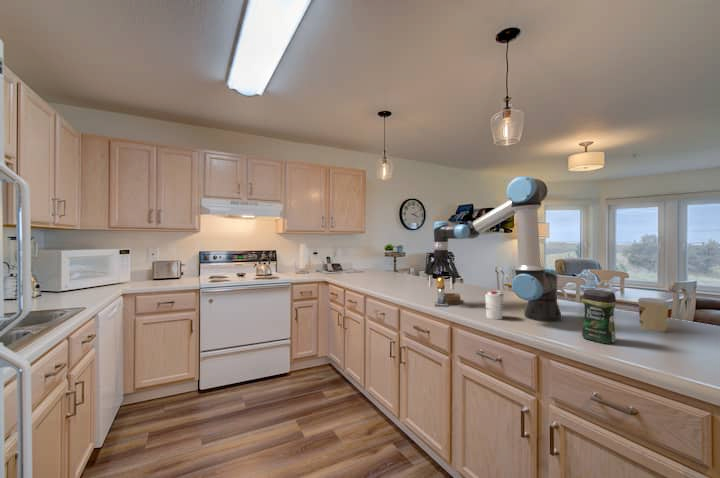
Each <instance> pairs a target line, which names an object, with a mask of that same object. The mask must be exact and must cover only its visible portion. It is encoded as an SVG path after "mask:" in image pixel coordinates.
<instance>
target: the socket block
mask: <svg viewBox="0 0 720 478" xmlns="http://www.w3.org/2000/svg"><path fill="white" fill-rule="evenodd" d="M444 298H445V302H448V305H449V304H450V305H461V295H460V292H459V293H458V292H457V293H456V292H455V293H454V292H444Z"/></svg>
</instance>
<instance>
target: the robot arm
mask: <svg viewBox="0 0 720 478" xmlns="http://www.w3.org/2000/svg"><path fill="white" fill-rule="evenodd" d="M548 191H549V190H548V186H547V184H546V183H545V182H544V181H543V180H541V179H538V178H535V177H532V176H527V175H526V176H522V175H521V176H517V177H515V178H513V179H512V180H511V181H510V182H509V184H508V185H507V188H506V196H507V198H508V200H507V201H505V202H503V203H501V204H500V205H498V206H497V207H495V208H493V209H492V210H490V211H488V212H487V213H485V214H483V215H482V216H480V217H478V218H477V219H475V220H473V221H472V222H470V223H468V224H463V223H462V224H460V223H459V224H449V222H448V221H435V222H434V224H433V239H434V240H433V248H434V250H433V255H434V257H429V259H428V263H427V264H426V265H427V266H426V268H425V270H424V272H423V273H424V274H426V275H427V281H428V287H429V288H431V287H433V272H434V271H435V270H436V268H437V267H443V268H445V269H446V270H447V273H448V274H449V275H450V277H449V278H450V280H449V281H450V282H449V283H450V290H454V289H455V284H456V277H460V273H459V272H458V269H457V267H456V265H455V261H454V258H449V250H448V249H449V240H451V239H452V240H466V239H470V240H471V239H477V238H478V237H479V236H480V235H481V234H482V233H483V232H485V231H487V230H489V229H491V228H492V227H494V226H496V225H498V224H500V223H501V222H503V221H505V220H507V219H508V218H511V217H512V216H514V215H515V219H516V221H515V222H516V223H515V224H516V239H517V242H516V243H517V258H518V259H517V260H518V265H517V266H516V267H515V269H514V272H515V276H514V278H513V279H512V281H511V289H512V291H513V293H514V294H515V295H516V296H517V297H518V298H519V299H521V300H524V301H527V303H526V306H525V308H524V313H523V314H524V317H525V318H528V319H530V320H535V321H541V322H560V321H562V319H563V318H562V316H563V315H562V311H561V310H560V306H559V304H558V271H556V270H555V269H550V268H545V267H544V266H542V265H541V250H540V248H541V247H540V246H541V245H540V235H539V234H540V233H539V232H540V231H539V216H538V215H539V213H538V211H539V209H540V208H541V207H542V202H544V200H545V199H546V197H547V195H548Z"/></svg>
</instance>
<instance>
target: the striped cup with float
mask: <svg viewBox="0 0 720 478" xmlns="http://www.w3.org/2000/svg"><path fill="white" fill-rule="evenodd" d="M504 293H505V292H504V291H499V290H485V291H484V296H485V297H484V299H485V300H484V301H485V317H486V318H487V319H489V320H495V321H497V320H502V319H503V313H504Z"/></svg>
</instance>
